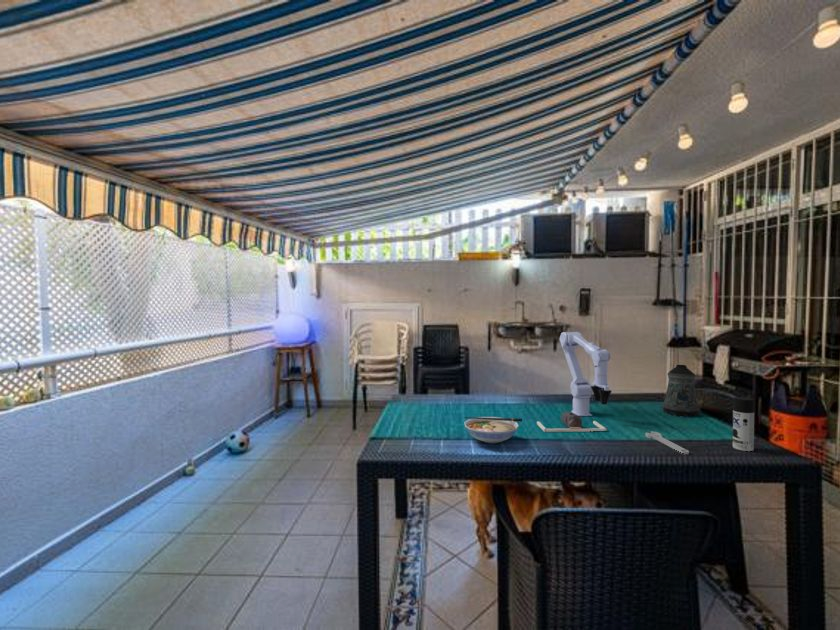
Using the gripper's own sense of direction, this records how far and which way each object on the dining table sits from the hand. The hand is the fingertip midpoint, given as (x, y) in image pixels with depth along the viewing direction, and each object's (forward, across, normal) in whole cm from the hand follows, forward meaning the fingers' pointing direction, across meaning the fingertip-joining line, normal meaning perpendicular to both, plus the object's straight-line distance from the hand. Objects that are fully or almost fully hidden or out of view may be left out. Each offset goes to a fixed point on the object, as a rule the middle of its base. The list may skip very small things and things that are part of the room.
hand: (600, 402), depth 206 cm
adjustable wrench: (+10, +33, +12) cm, 36 cm away
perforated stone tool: (+10, +8, -18) cm, 22 cm away
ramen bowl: (+10, +28, -58) cm, 65 cm away
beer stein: (+10, -16, +48) cm, 51 cm away
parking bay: (+9, +10, -18) cm, 22 cm away
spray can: (+10, +40, +39) cm, 57 cm away
